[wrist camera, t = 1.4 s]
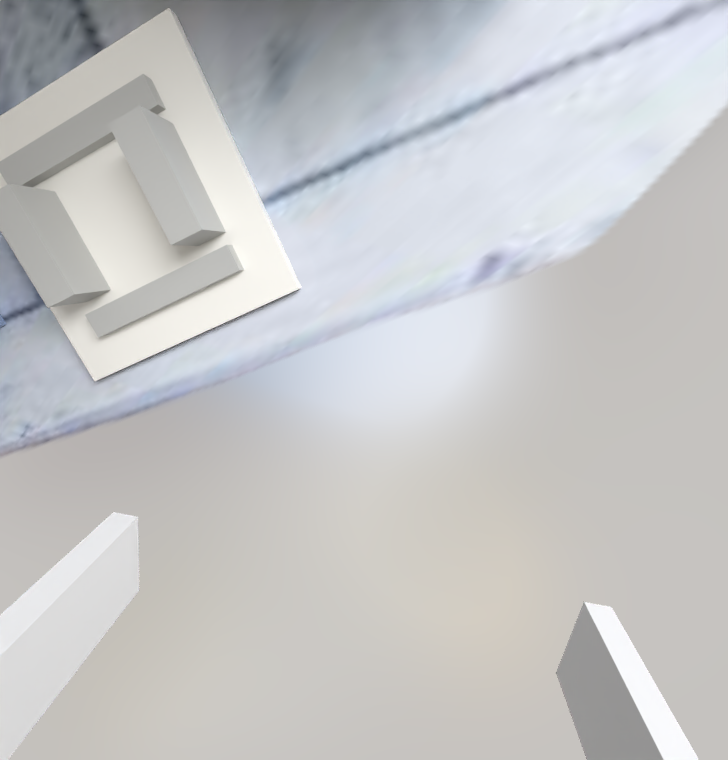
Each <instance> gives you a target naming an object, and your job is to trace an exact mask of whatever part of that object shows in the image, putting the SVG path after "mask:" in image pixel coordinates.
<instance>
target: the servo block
mask: <svg viewBox="0 0 728 760" xmlns="http://www.w3.org/2000/svg"><path fill="white" fill-rule="evenodd" d="M4 325H6V322H5V321H4V319H3V318H2V316H1V315H0V327H2V326H4Z"/></svg>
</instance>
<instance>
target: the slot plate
mask: <svg viewBox="0 0 728 760" xmlns="http://www.w3.org/2000/svg"><path fill="white" fill-rule="evenodd" d="M0 231H1V233H2V234H3V236H4V238H5V239H6V241H7V242H8V244H9V246H10V247H11V249H12V251H13V252H14V254H15V255H16V257H17V259H18V260H19V262H20V264H21V265H22V267H23V269H24V270H25V272H26V273H27V275H28V277H29V278H30V280H31V282H32V283H33V285H34V287H35V288H36V290H37V291H38V293H39V295H40V296H41V298H42V300H43V301H44V303H45V304H46V306H47V308H50V309H51V311H52V312H53V314H54V316H55V317H56V319H57V321H58V322H59V324H60V326H61V327H62V329H63V330H64V332H65V334H66V335H67V337H68V339H69V340H70V342H71V344H72V345H73V347H74V348H75V350H76V352H77V353H78V355H79V357H80V358H81V360H82V362H83V363H84V365H85V366H86V368H87V370H88V371H89V373H90V375H91V376H92V378H93V380H94V381H97V380H99V379H102V378H104V377H106V376H108V375H111V374H113V373H115V372H117V371H119V370H122V369H124V368H126V367H128V366H130V365H133V364H135V363H137V362H139V361H142V360H144V359H146V358H148V357H150V356H153V355H155V354H157V353H159V352H161V351H164V350H166V349H168V348H170V347H172V346H175V345H177V344H179V343H181V342H183V341H186V340H188V339H190V338H192V337H195V336H197V335H199V334H201V333H203V332H206V331H208V330H210V329H212V328H214V327H217V326H219V325H221V324H223V323H225V322H228V321H230V320H232V319H234V318H237V317H239V316H241V315H243V314H245V313H248V312H250V311H252V310H254V309H256V308H259V307H261V306H263V305H265V304H267V303H270V302H272V301H274V300H276V299H278V298H281V297H283V296H285V295H287V294H290V293H292V292H294V291H296V290H298V289H301V288H302V287H301V285H300V283H299V281H298V279H297V276H296V274H295V272H294V270H293V268H292V266H291V263H290V261H289V259H288V257H287V255H286V252H285V250H284V248H283V246H282V244H281V242H280V239H279V237H278V235H277V233H276V231H275V229H274V226H273V224H272V222H271V220H270V218H269V215H268V213H267V211H266V209H265V207H264V205H263V202H262V200H261V198H260V196H259V194H258V192H257V189H256V187H255V185H254V183H253V181H252V178H251V176H250V174H249V172H248V170H247V168H246V165H245V163H244V161H243V159H242V157H241V155H240V152H239V150H238V148H237V146H236V144H235V141H234V139H233V137H232V135H231V133H230V131H229V128H228V126H227V124H226V122H225V120H224V118H223V115H222V113H221V111H220V109H219V107H218V105H217V102H216V100H215V98H214V96H213V94H212V91H211V89H210V87H209V85H208V83H207V81H206V78H205V76H204V74H203V72H202V70H201V68H200V65H199V63H198V61H197V59H196V57H195V54H194V52H193V50H192V48H191V46H190V44H189V41H188V39H187V37H186V35H185V33H184V31H183V28H182V26H181V24H180V22H179V20H178V17H177V15H176V14H175V13H174V12H173V11H172V10H171V9H170V8H168V9H166V10H164V11H163V12H161V13H160V14H158V15H157V16H155V17H154V18H152V19H150V20H149V21H147V22H146V23H144V24H143V25H141V26H139V27H138V28H136V29H135V30H133V31H132V32H130V33H129V34H127V35H125V36H124V37H122V38H121V39H119V40H118V41H116V42H115V43H113V44H111V45H110V46H108V47H107V48H105V49H104V50H102V51H100V52H99V53H97V54H96V55H94V56H93V57H91V58H90V59H88V60H86V61H85V62H83V63H82V64H80V65H79V66H77V67H76V68H74V69H72V70H71V71H69V72H68V73H66V74H65V75H63V76H61V77H60V78H58V79H57V80H55V81H54V82H52V83H51V84H49V85H47V86H46V87H44V88H43V89H41V90H40V91H38V92H37V93H35V94H33V95H32V96H30V97H29V98H27V99H26V100H24V101H23V102H21V103H19V104H18V105H16V106H15V107H13V108H12V109H10V110H8V111H7V112H5V113H4V114H2V115H1V116H0Z"/></svg>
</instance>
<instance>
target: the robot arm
mask: <svg viewBox="0 0 728 760" xmlns="http://www.w3.org/2000/svg"><path fill="white" fill-rule="evenodd" d="M138 540H139V537H138V517H137V516H131V515H126V514H120V513H116V512H113V513H112V514H111V515H110V516H109V517H107V518H106V519H105V520H104V521H103V522H102V523H101V524H100V525H99V526H97V528H95V529H94V530H93V531H92V532H91V533H90V534H89V535H88V536H87V537H86V538H84V539H83V540H82V541H81V542H80V543H79V544H78V545H77V546H75V547H74V548H73V549H72V550H71V551H70V552H69V553H68V554H67V555H66V556H64V557H63V558H62V559H61V560H60V561H59V562H58V563H57V564H56V565H55V566H53V567H52V568H51V569H50V570H49V571H48V572H47V573H46V574H45V575H44V576H42V577H41V578H40V579H39V580H38V581H37V582H36V583H35V584H34V585H33V586H31V587H30V588H29V589H28V590H27V591H26V592H25V593H24V594H23V595H21V596H20V597H19V598H18V599H17V600H16V601H15V602H14V603H13V604H12V605H11V606H9V607H8V608H7V609H6V610H5V611H4V612H3V613H2V614H1V615H0V760H8V759H9V758H10V756H11V755H12V754H13V753H14V751H15V750H16V749H17V747H18V746H19V745H20V744H21V742H22V741H23V740H24V738H25V737H26V736H27V734H28V733H29V732H30V730H31V729H32V728H33V727H34V726H35V724H36V723H37V722H38V720H39V719H40V718H41V716H42V715H43V714H44V712H45V711H46V710H47V709H48V707H49V706H50V705H51V704H52V702H53V701H54V700H55V698H56V697H57V696H58V695H59V693H60V692H61V691H62V689H63V688H64V687H65V686H66V684H67V683H68V682H69V680H70V679H71V678H72V676H73V675H74V674H75V673H76V671H77V670H78V669H79V667H80V666H81V665H82V664H83V662H84V661H85V660H86V658H87V657H88V656H89V654H90V653H91V652H92V651H93V649H94V648H95V647H96V645H97V644H98V643H99V642H100V640H101V639H102V637H103V636H104V635H105V634H106V633H107V631H108V630H109V629H110V627H111V626H112V625H113V624H114V622H115V621H116V620H117V618H118V617H119V616H120V615H121V613H122V612H123V611H124V609H125V608H126V607H127V605H128V604H129V603H130V602H131V600H132V599H133V597H134V596H135V595H136V594H137V592H138V591H139V541H138ZM556 674H557V677H558V679H559V682H560V685H561V688H562V691H563V694H564V697H565V699H566V702H567V705H568V708H569V710H570V713H571V716H572V719H573V722H574V725H575V728H576V730H577V733H578V736H579V739H580V742H581V744H582V747H583V750H584V753H585V756H586V759H587V760H699V759H698V758H697V756H696V754H695V752H694V751H693V749H692V747H691V745H690V744H689V742H688V740H687V738H686V737H685V735H684V733H683V731H682V730H681V728H680V726H679V725H678V723H677V721H676V719H675V717H674V716H673V714H672V712H671V710H670V709H669V707H668V706H667V704H666V702H665V700H664V698H663V696H662V695H661V693H660V691H659V689H658V688H657V686H656V684H655V682H654V681H653V679H652V677H651V675H650V674H649V672H648V671H647V668H646V667H645V665H644V663H643V661H642V660H641V658H640V656H639V655H638V653H637V651H636V649H635V647H634V646H633V644H632V642H631V641H630V639H629V637H628V635H627V633H626V632H625V630H624V628H623V627H622V625H621V623H620V621H619V620H618V618H617V616H616V614H615V613H614V611H613V609H612V607H609V606H603V605H598V604H592V603H587V602H584V603H583V606H582V608H581V611H580V614H579V616H578V619H577V621H576V624H575V626H574V629H573V631H572V634H571V636H570V639H569V641H568V644H567V646H566V649H565V652H564V654H563V657H562V659H561V661H560V664H559V667H558V669H557V672H556Z"/></svg>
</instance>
